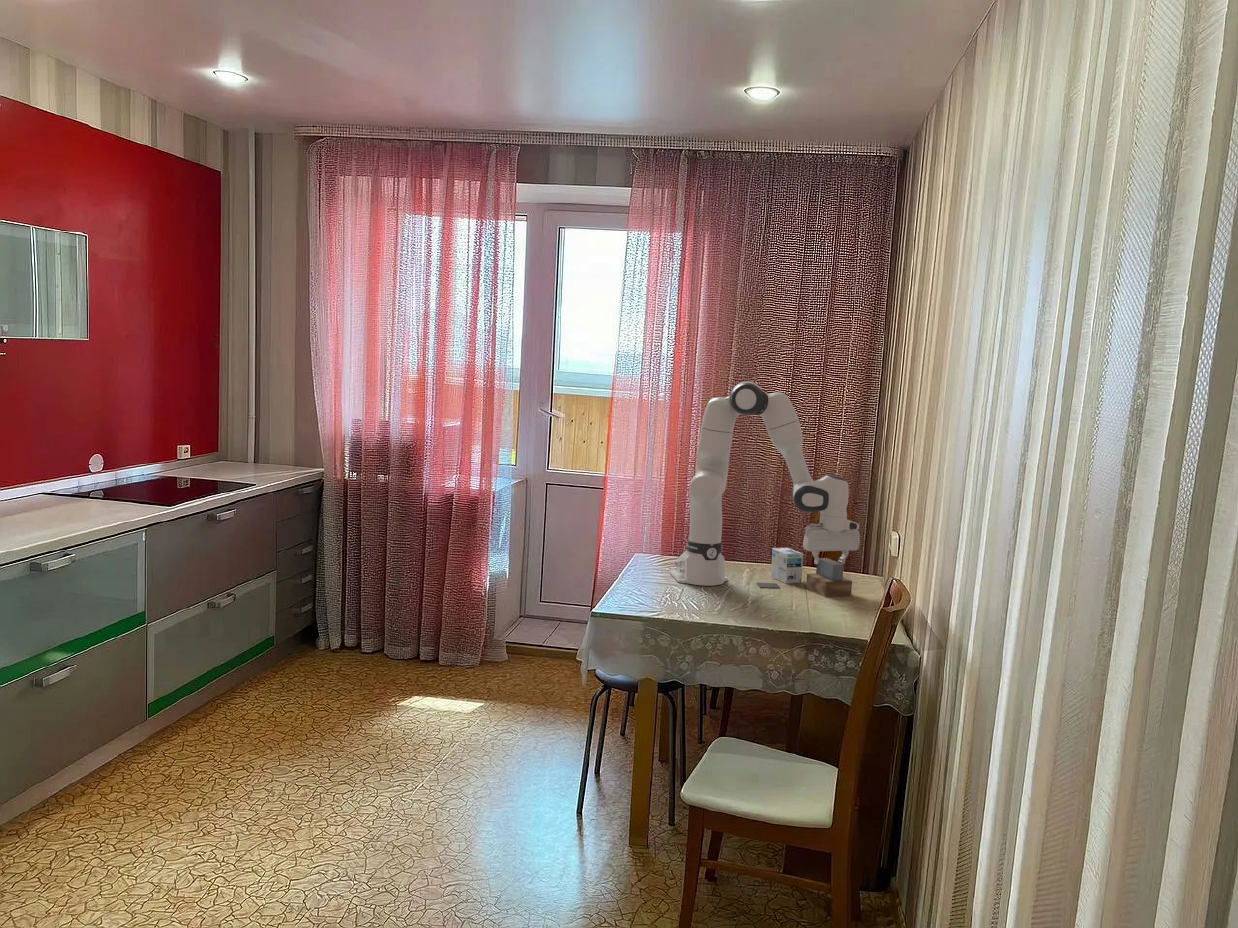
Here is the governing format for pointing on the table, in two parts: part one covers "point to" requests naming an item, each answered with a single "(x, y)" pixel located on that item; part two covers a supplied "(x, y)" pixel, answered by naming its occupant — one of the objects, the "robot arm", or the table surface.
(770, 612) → the table surface
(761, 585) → the loose cover plate
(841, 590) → the wooden stand
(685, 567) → the robot arm
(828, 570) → the metal housing
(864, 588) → the table surface
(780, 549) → the light bulb box
